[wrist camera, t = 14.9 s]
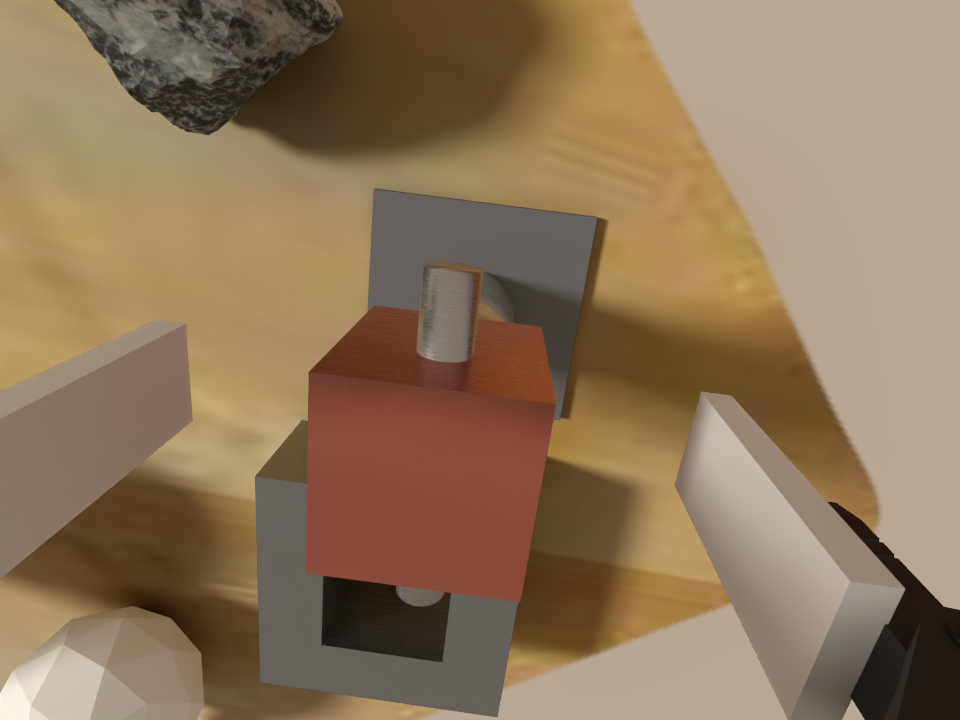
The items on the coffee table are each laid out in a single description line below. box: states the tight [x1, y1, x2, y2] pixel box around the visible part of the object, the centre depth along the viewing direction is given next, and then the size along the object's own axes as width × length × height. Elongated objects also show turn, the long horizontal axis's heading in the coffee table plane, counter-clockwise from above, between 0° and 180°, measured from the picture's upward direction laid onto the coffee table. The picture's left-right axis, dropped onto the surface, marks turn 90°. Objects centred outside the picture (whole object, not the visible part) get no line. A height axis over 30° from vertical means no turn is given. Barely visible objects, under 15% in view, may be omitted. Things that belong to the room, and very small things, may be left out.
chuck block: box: [255, 421, 518, 717], centre depth 26 cm, size 11×11×5 cm
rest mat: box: [368, 189, 597, 420], centre depth 24 cm, size 9×9×1 cm
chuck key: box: [306, 261, 556, 606], centre depth 17 cm, size 8×4×14 cm, turn 173°
